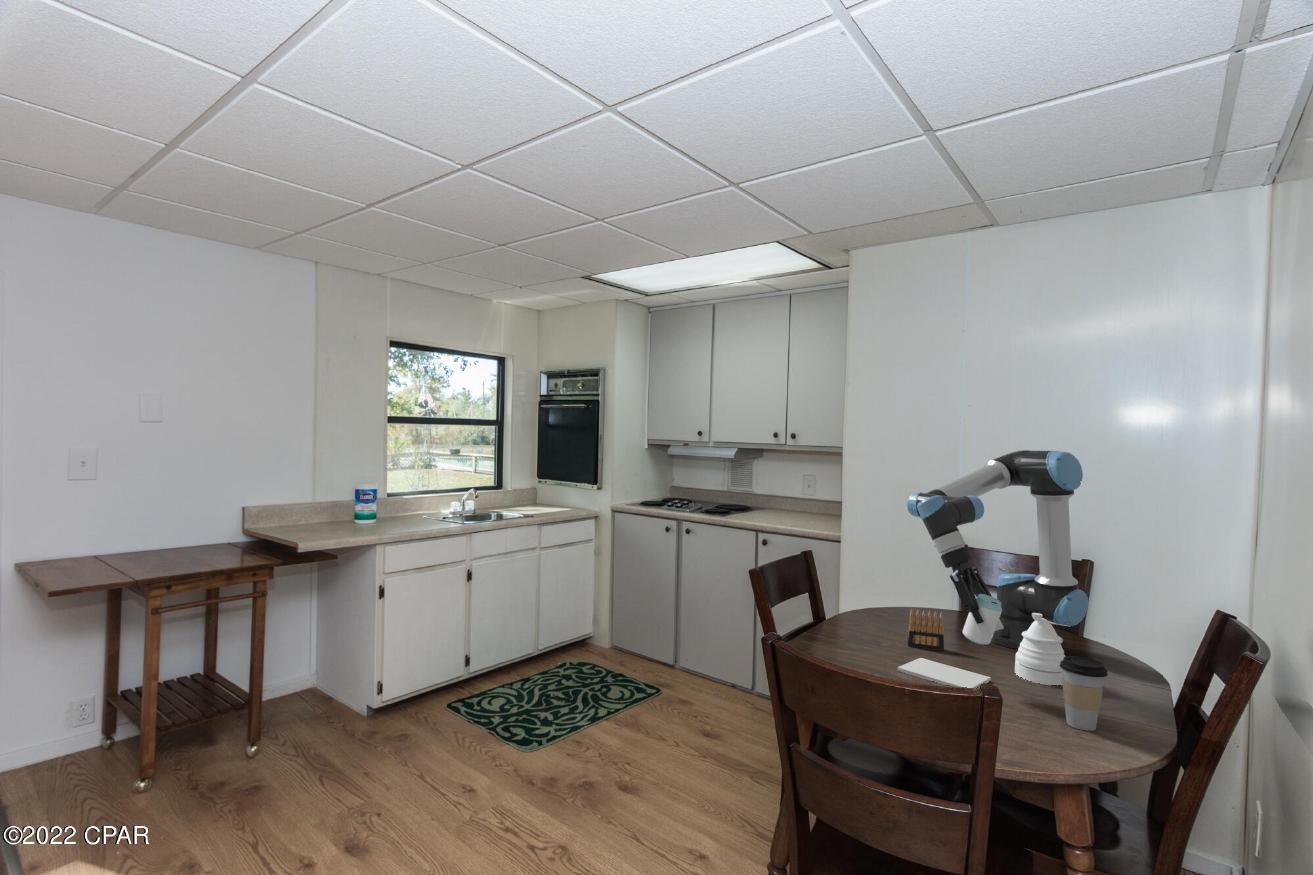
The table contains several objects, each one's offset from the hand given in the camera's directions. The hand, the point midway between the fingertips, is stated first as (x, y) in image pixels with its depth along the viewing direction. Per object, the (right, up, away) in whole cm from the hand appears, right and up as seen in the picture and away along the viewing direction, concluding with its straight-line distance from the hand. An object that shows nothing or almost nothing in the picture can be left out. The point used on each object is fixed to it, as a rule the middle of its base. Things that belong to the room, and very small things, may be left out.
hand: (993, 632), depth 170 cm
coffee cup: (+10, -16, -20) cm, 27 cm away
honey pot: (+20, -17, +12) cm, 29 cm away
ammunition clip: (-3, -16, +36) cm, 39 cm away
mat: (-9, -15, +10) cm, 21 cm away
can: (-3, -3, +3) cm, 5 cm away
